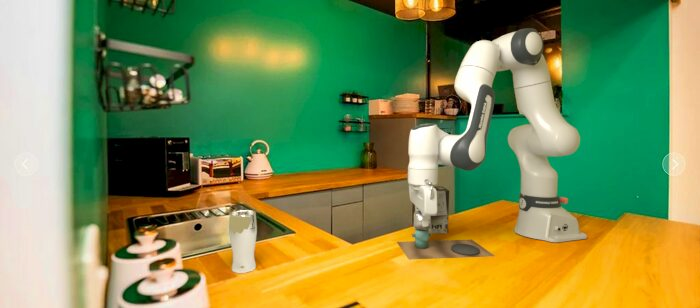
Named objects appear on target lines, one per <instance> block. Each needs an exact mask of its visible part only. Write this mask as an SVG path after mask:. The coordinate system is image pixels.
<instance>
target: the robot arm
mask: <svg viewBox="0 0 700 308" xmlns="http://www.w3.org/2000/svg"><path fill="white" fill-rule="evenodd" d="M543 51H544V39H543V37H542V35H541V34H540V33H539V31H537V29H535V28H532V27H530V28H529V27H526V28H520V29H518V30H516V31H512V32H509V33H506V34H504V35H501V36H499V37H497V38H495V39H493V40H492V41H491V40H487V39H481V40H479V41H477V40H476V41H475V42H474V43H473V44H472V45H471V46H470V47H469V49H468V50H467V52H466V53H465V55H464V58H462V61H461V63H460V66H459V68H458V71H457V73H456V76H455V80H454V85H453V86H454V90H455V92H456V94H457V96H458V97H460V99H462V100H464V101H465V102H467V103H469V104H470V106H471V109H470V113H469V116H468V117H469V118H468V121H467V125H466V129H465V131H463V133H461V134H449V133H447V132H445V131H443V130H442V129H441V128H439V127H438V124H436V123H432V122H430V123H429V122H428V123H421V124H416V125H414V126H413V127H412V128H411V129H410V131H409V136H408V144H407V145H408V148H407V149H408V150H407V151H408V157H409V162H408V165H407V173H406V179H407V183H408V192H409V193H408V195H409V200H410V202H412V203H411V204H413V205H414V208H415V211H421V212H422V219H421V225H422V226H423V227H427V226H428V221H429V218H430V216H436V215H437V191H436V189H435V188H434V187H433V186H437V185H438V183H439V165H441V166H445V167H452V168H457V169H460V170H463V171H466V172H467V171H468V172H470V171H471V172H472V171H474V170H476V169H478V168H479V167H480V166H481V165H482V164H483V162H484V161H485V158H486V156H487V140H488V134H489V129H490V125H491V121H492V115H493V111H494V106H495V101H496V100H495V99H496V98H495V97H496V95H495V90H494V89H493V83H494V79H495V76H496V74H497V72H504V71H508V70H509V71H510V72H511V73H512V82H513V90H514V95H515V96H514V97H515V101H516V106H517V110H518V112H519V113H520V114H522V115H523V116H525V118H526V119H527V120H528V122H529V124H527V123H526V124H523V125H519V126H516V127H514V128H512V129H510V131H509V132H508V133H509V134H508V135H507V143H508V145H509V148H511V150H512V151H513V152H514V154H515V155H516V158H517V161H518V164H519V168H520V192H519V194H518V195H519V196H518V207H519V208H518V210H519V211H518V215H517V220H516V224H515V227H514V229H513V231H514V233H516V234H518V235H520V236H522V237H526V238H529V239H535V240H539V241H546V242H551V243H564V242H571V241H572V242H573V241H579V240H586V239H588V235H587V234H586V233H584V232H583V231H580V227H579V221H578V219H577V218H576V217H575V216H574V215H572V214H571V213H570V212H568V210H566V209H565V208H564V207H562V204H561V203H563V204H564V205H566V204H568V201H569V199H568V198H567V197H563V196H561V197H559V196H558V195H557V194H558V178H559V175H558V172H557V171H556V170H555V169H554V168H553V167H552V166H551V164H550V162H549V160H548V157H555V158H557V157H564V156H569V155H572V154H574V153H575V152H576V151H577V150H578V148H579V147H580V144H581V143H580V142H581V136H580V134H579V131H578V129H577V128H576V127H574V126H573V125H571V124H570V123H569V122H567V121H566V119H565V118H564V117H563V115H562V114H561V112H560V111H559V109H558V107H557V104H556V102H555V101H556V100H555V97H554V93H553V87H552V80H551V75H550V70H549V67H548V66H549V65H548V63H547V61H546V58H545V56H544V54H543Z"/></svg>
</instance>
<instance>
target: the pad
mask: <svg viewBox="0 0 700 308" xmlns="http://www.w3.org/2000/svg"><path fill="white" fill-rule="evenodd" d="M451 250H452V251H453V252H455V253H457V254H461V255H468V256H473V255H478V254H479V253H480V249H479V248H477V247H475V246H473V245H469V244H454V245H452V246H451Z"/></svg>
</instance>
